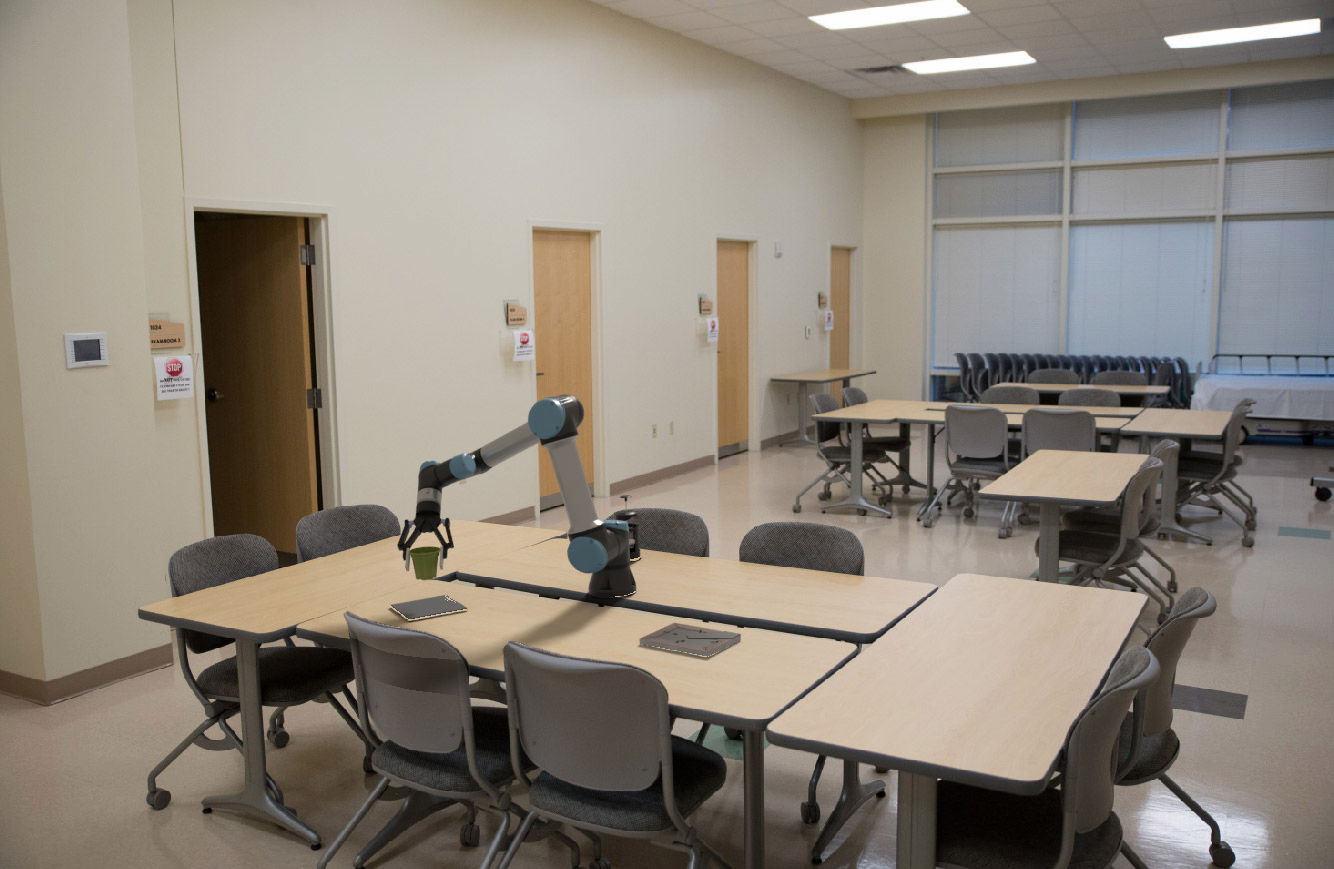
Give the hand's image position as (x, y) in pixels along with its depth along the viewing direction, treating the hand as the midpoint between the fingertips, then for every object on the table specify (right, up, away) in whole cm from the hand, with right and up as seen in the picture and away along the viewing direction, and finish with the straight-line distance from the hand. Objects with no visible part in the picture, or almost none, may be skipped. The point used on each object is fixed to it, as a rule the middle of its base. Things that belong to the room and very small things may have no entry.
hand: (424, 568), depth 314 cm
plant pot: (0, -4, +4) cm, 5 cm away
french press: (+58, -5, +60) cm, 84 cm away
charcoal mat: (0, -13, +5) cm, 14 cm away
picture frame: (+79, -16, -33) cm, 87 cm away
